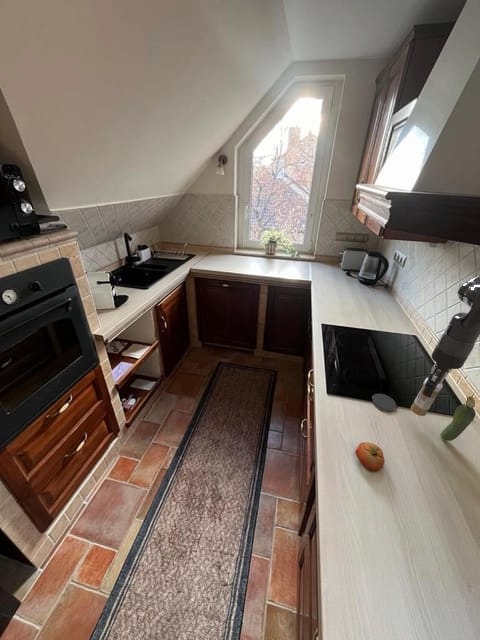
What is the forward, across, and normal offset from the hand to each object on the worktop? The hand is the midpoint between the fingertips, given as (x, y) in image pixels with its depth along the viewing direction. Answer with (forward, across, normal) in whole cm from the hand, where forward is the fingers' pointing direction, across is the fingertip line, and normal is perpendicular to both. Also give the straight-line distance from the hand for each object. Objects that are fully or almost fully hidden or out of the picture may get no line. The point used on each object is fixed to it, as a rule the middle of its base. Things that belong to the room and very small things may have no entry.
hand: (429, 391), depth 81 cm
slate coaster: (+14, 0, +10) cm, 18 cm away
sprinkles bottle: (+10, 0, 0) cm, 10 cm away
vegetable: (+15, 0, -10) cm, 17 cm away
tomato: (+15, -26, +3) cm, 29 cm away
